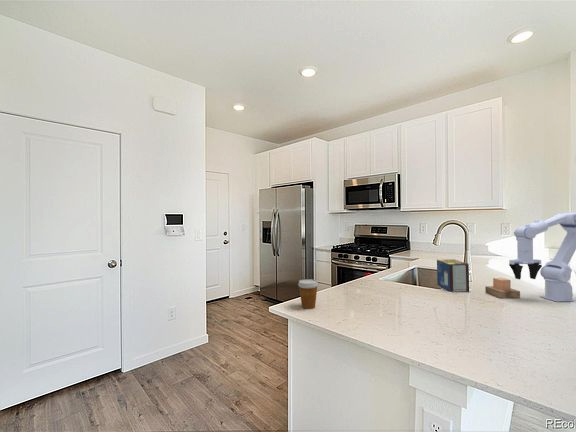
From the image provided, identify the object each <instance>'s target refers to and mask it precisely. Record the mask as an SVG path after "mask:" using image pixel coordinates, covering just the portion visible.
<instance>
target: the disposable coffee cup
mask: <svg viewBox="0 0 576 432" xmlns="http://www.w3.org/2000/svg"><path fill="white" fill-rule="evenodd" d="M297 286H298V288H299V295H300V301H301V302H300V303H301V307H302V308H303V309H304V310H305V309H306V310H311V309H315V308H316V304H317V303H316V302H317V294H318V286H319V283H318V280H316V279H309V278H307V279H300V280H299V281H298V283H297Z"/></svg>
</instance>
